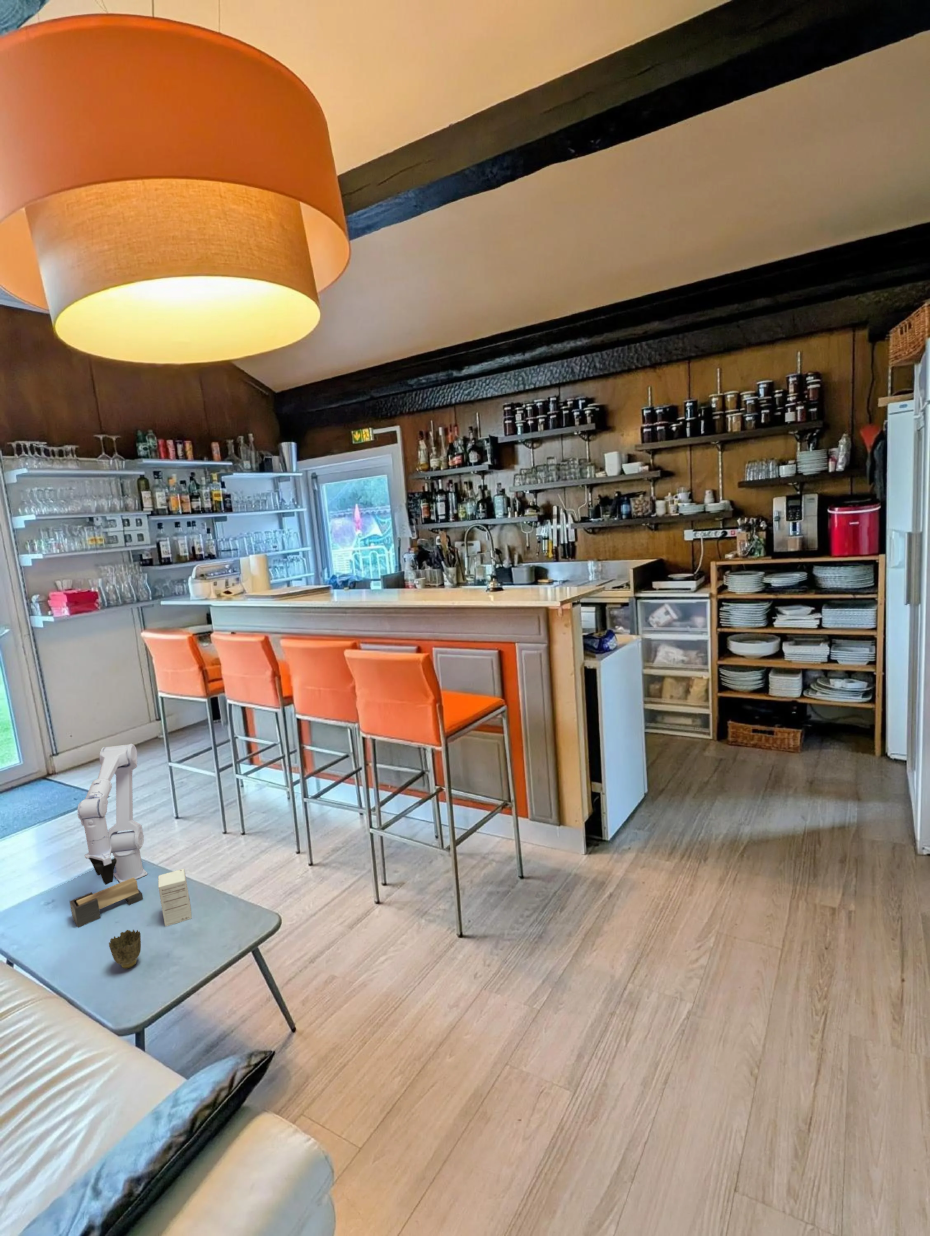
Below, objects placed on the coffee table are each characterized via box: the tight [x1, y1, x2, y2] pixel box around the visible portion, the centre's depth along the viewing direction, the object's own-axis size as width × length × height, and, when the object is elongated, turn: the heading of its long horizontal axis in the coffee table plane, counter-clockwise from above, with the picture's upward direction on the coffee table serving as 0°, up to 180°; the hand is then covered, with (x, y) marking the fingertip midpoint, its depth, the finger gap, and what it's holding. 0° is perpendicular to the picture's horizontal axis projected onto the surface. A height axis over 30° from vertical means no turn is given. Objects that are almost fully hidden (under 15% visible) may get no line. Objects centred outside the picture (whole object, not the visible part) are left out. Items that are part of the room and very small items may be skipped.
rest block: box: [124, 888, 144, 906], centre depth 201 cm, size 6×4×2 cm, turn 44°
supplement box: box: [157, 868, 192, 927], centre depth 189 cm, size 7×7×13 cm
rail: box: [76, 877, 139, 910], centre depth 196 cm, size 3×16×4 cm, turn 134°
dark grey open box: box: [69, 891, 101, 928], centre depth 192 cm, size 6×6×6 cm
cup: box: [108, 929, 142, 970], centre depth 169 cm, size 8×7×8 cm
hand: (104, 878), depth 195 cm, fingers open, 7 cm apart
